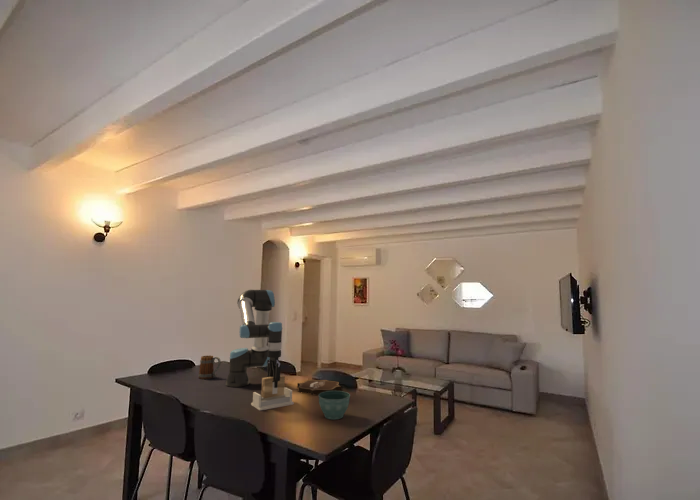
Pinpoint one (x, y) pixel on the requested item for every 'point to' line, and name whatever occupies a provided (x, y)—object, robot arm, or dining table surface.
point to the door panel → (268, 386)
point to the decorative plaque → (318, 386)
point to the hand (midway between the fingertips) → (272, 392)
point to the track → (272, 400)
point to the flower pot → (334, 403)
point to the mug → (208, 367)
